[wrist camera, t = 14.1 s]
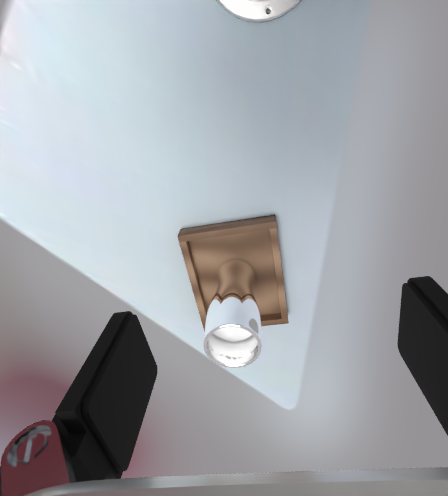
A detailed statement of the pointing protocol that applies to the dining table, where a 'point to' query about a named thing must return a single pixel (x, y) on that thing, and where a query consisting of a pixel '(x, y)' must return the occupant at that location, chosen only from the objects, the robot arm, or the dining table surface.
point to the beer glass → (233, 317)
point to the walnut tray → (237, 248)
